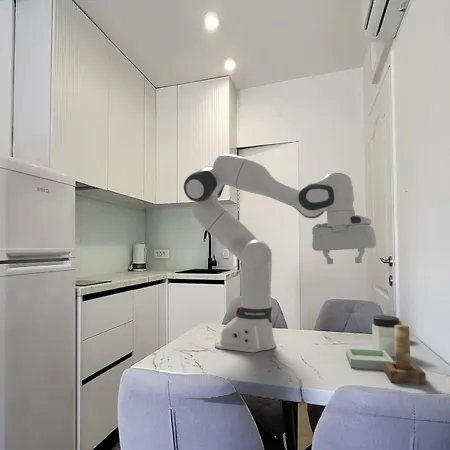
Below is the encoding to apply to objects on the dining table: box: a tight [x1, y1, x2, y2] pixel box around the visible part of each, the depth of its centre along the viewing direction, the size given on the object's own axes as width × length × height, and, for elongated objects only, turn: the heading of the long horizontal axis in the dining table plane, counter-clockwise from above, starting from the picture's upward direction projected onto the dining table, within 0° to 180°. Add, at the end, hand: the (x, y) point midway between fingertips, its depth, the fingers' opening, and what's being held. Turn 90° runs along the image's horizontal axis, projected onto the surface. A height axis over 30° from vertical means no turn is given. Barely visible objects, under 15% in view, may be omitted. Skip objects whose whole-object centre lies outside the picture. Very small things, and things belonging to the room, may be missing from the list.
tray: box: [345, 347, 395, 371], centre depth 108 cm, size 12×12×2 cm
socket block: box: [383, 361, 427, 386], centre depth 95 cm, size 8×8×3 cm
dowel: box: [395, 324, 412, 370], centre depth 95 cm, size 4×4×14 cm
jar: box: [371, 314, 400, 358], centre depth 118 cm, size 9×8×12 cm
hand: (343, 263), depth 112 cm, fingers open, 8 cm apart
